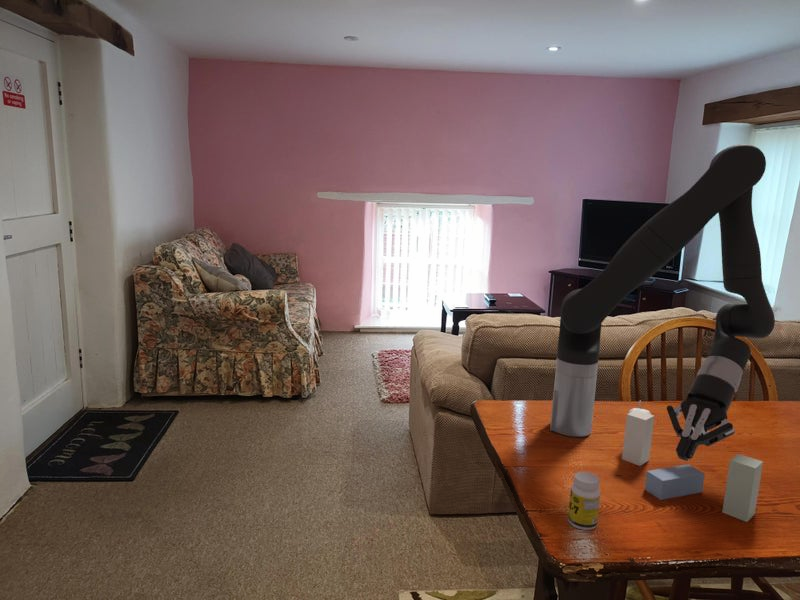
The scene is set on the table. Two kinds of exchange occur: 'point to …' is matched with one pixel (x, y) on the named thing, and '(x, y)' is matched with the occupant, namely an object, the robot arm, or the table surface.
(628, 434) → the cream block
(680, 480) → the slate blue block
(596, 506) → the supplement bottle
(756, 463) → the sage block
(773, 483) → the table surface
